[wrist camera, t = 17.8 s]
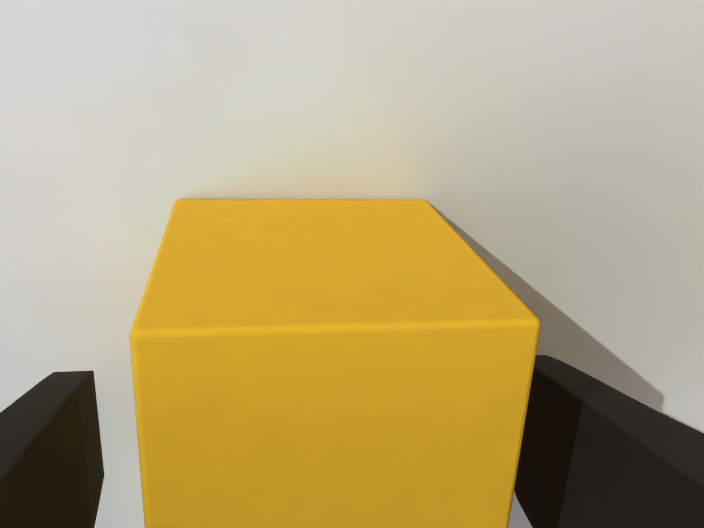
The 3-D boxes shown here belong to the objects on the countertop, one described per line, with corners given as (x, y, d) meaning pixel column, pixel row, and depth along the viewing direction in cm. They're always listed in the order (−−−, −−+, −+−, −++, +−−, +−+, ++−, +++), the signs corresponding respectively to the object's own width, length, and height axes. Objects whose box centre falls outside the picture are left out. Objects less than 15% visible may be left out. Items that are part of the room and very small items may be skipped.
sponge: (428, 199, 12) (545, 319, 7) (399, 512, 14) (474, 751, 10) (174, 197, 11) (127, 331, 7) (190, 527, 14) (165, 792, 9)
